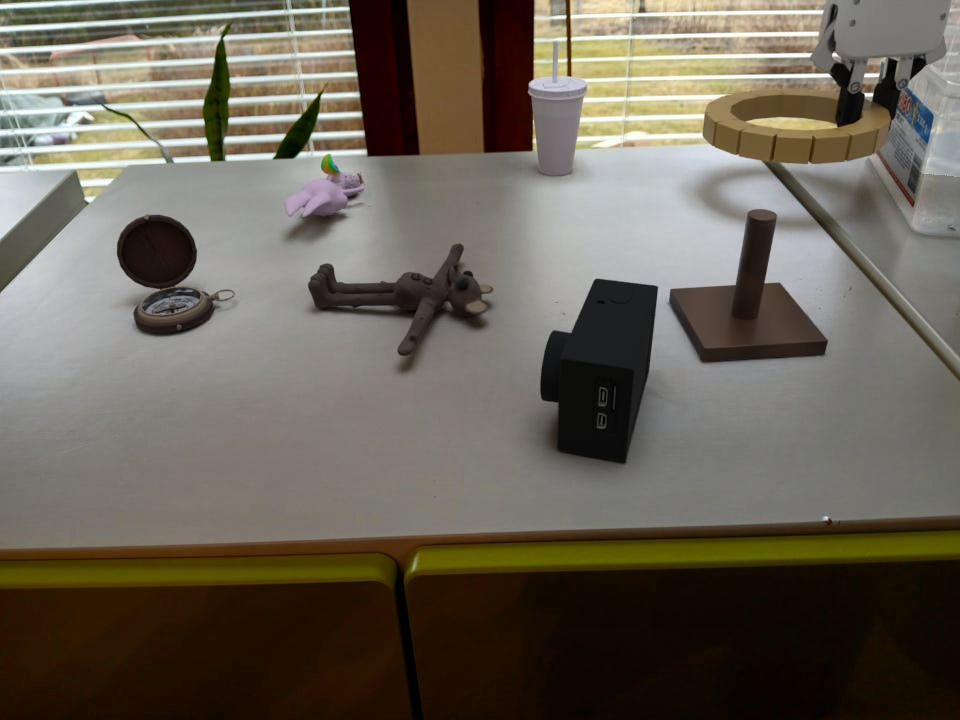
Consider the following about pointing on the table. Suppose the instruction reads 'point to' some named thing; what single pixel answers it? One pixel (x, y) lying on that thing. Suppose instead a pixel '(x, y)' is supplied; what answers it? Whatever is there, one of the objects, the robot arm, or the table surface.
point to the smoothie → (556, 118)
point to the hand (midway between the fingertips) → (862, 128)
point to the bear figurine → (406, 294)
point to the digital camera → (601, 369)
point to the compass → (163, 273)
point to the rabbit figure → (325, 192)
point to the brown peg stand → (747, 308)
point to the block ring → (788, 145)
